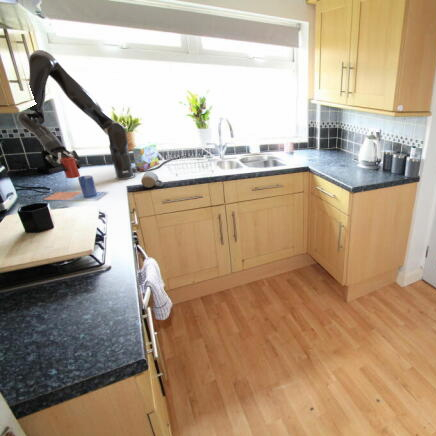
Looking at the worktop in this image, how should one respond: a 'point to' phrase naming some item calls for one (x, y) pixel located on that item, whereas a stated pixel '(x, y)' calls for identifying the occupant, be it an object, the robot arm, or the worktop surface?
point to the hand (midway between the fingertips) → (73, 169)
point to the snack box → (145, 156)
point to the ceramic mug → (150, 180)
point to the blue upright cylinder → (87, 186)
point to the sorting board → (71, 196)
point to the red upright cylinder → (70, 167)
